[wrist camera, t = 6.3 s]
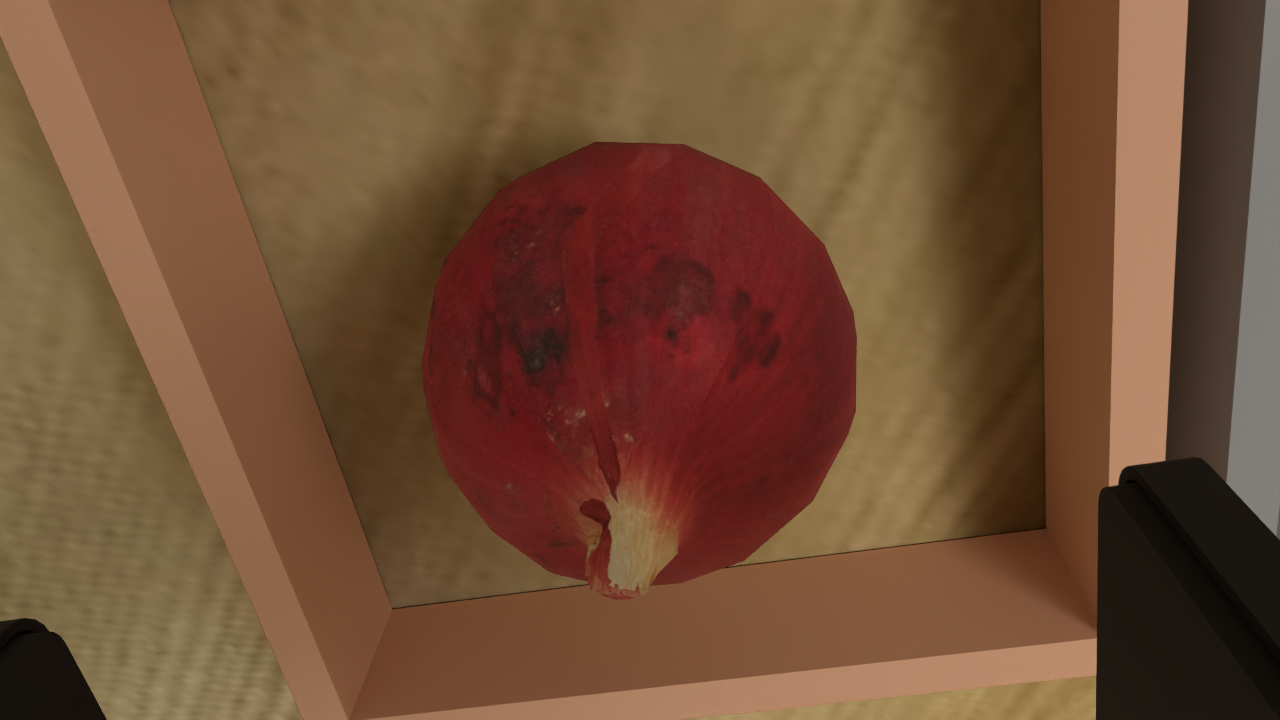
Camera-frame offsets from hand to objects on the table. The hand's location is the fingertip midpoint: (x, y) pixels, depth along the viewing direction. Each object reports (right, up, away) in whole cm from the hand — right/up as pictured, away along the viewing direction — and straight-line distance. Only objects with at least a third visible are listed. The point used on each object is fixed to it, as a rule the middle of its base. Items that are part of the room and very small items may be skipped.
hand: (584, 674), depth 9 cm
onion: (+1, +5, +8) cm, 9 cm away
